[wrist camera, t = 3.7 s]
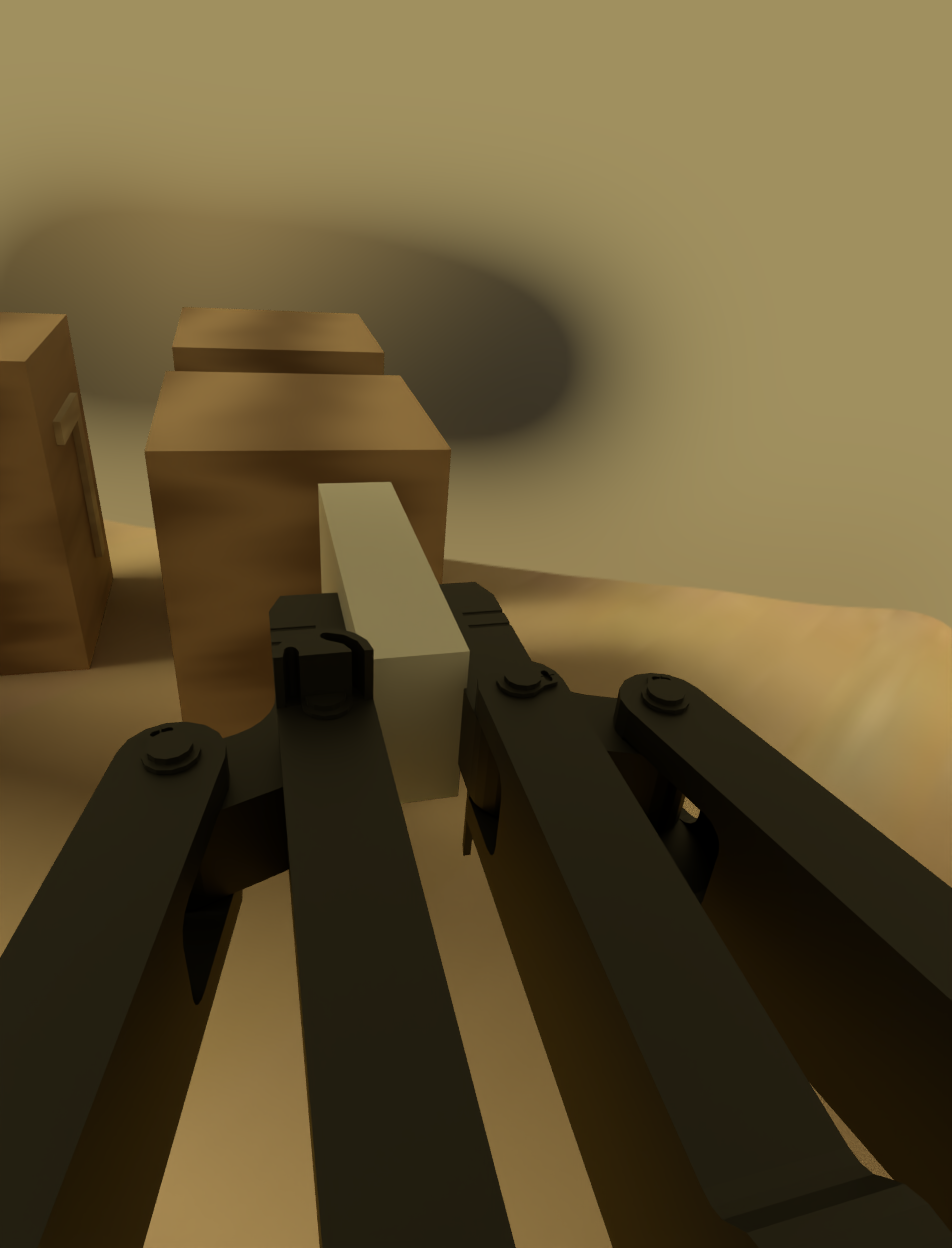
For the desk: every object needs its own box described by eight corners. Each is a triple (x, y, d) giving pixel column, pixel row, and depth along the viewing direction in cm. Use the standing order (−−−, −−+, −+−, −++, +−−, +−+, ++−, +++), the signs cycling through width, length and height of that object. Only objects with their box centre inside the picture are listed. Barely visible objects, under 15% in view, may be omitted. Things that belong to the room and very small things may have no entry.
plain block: (194, 809, 29) (144, 451, 22) (202, 673, 37) (165, 371, 29) (427, 781, 32) (450, 449, 25) (390, 658, 39) (400, 375, 32)
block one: (204, 628, 40) (172, 346, 33) (208, 549, 48) (183, 305, 40) (383, 617, 42) (390, 352, 35) (360, 543, 50) (362, 313, 43)
